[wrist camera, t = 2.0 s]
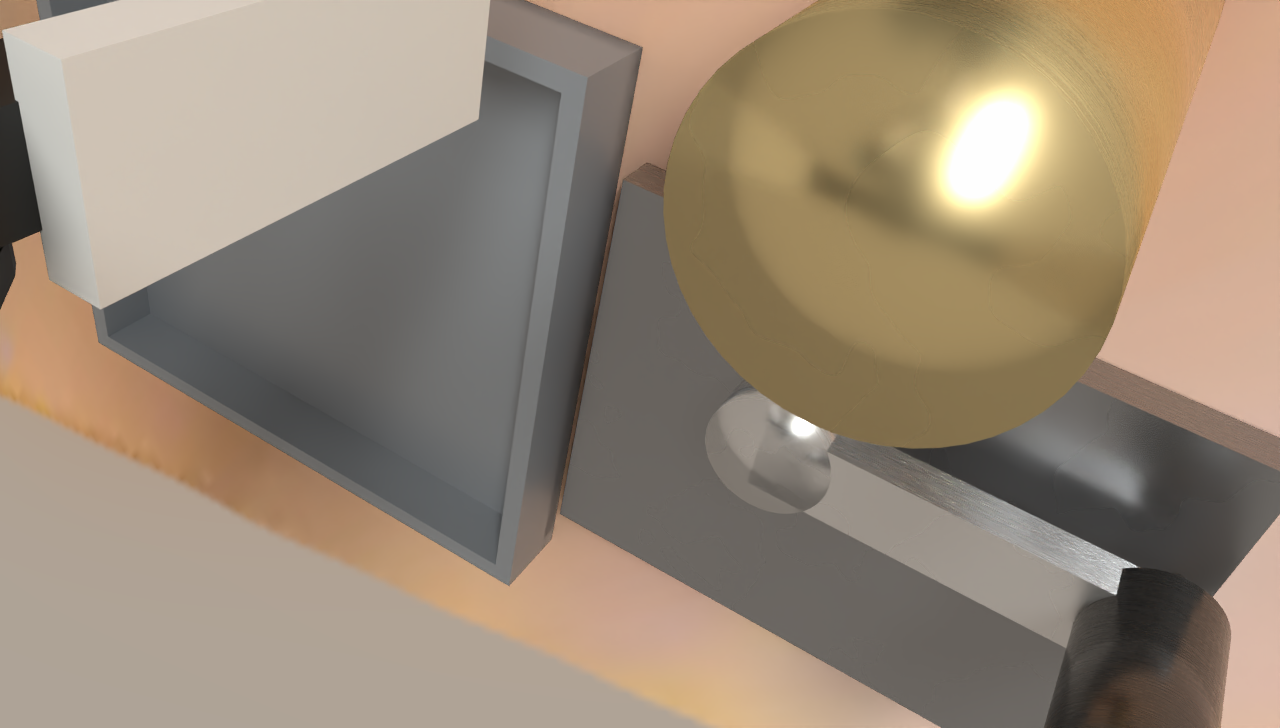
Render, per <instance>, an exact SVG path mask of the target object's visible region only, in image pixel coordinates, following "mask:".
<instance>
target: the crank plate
mask: <svg viewBox="0 0 1280 728" xmlns="http://www.w3.org/2000/svg"><path fill="white" fill-rule="evenodd" d="M665 177H666V171H665V170H662V169H660V168H658V167H655V166H653V165H651V164H649V163H646V164H645V165H643V166H642V167H640V168H639V169H638V170H636V171H635V172H633V173H632V174H631V175H629V176H628V177H626V178H625V179H624V180H623V184H622V189H621V194H620V200H619V205H618V210H617V215H616V221H615V226H614V231H613V237H612V242H611V247H610V252H609V258H608V263H607V268H606V274H605V279H604V284H603V289H602V295H601V300H600V305H599V311H598V316H597V321H596V326H595V332H594V337H593V342H592V348H591V353H590V358H589V363H588V369H587V374H586V379H585V384H584V390H583V395H582V400H581V406H580V411H579V416H578V421H577V427H576V432H575V437H574V443H573V448H572V453H571V458H570V464H569V469H568V474H567V480H566V485H565V490H564V495H563V501H562V506H561V511H560V514H561V515H563V516H565V517H567V518H568V519H570V520H572V521H574V522H575V523H577V524H579V525H581V526H583V527H584V528H586V529H588V530H590V531H592V532H593V533H595V534H597V535H599V536H600V537H602V538H604V539H606V540H608V541H609V542H611V543H613V544H615V545H617V546H618V547H620V548H622V549H624V550H625V551H627V552H629V553H631V554H633V555H634V556H636V557H638V558H640V559H642V560H643V561H645V562H647V563H649V564H650V565H652V566H654V567H656V568H658V569H659V570H661V571H663V572H665V573H666V574H668V575H670V576H672V577H674V578H675V579H677V580H679V581H681V582H683V583H684V584H686V585H688V586H690V587H691V588H693V589H695V590H697V591H699V592H700V593H702V594H704V595H706V596H708V597H709V598H711V599H713V600H715V601H716V602H718V603H720V604H722V605H724V606H725V607H727V608H729V609H731V610H733V611H734V612H736V613H738V614H740V615H741V616H743V617H745V618H747V619H749V620H750V621H752V622H754V623H756V624H757V625H759V626H761V627H763V628H765V629H766V630H768V631H770V632H772V633H774V634H775V635H777V636H779V637H781V638H782V639H784V640H786V641H788V642H790V643H791V644H793V645H795V646H797V647H799V648H800V649H802V650H804V651H806V652H807V653H809V654H811V655H813V656H815V657H816V658H818V659H820V660H822V661H824V662H825V663H827V664H829V665H831V666H832V667H834V668H836V669H838V670H840V671H841V672H843V673H845V674H847V675H848V676H850V677H852V678H854V679H856V680H857V681H859V682H861V683H863V684H865V685H866V686H868V687H870V688H872V689H873V690H875V691H877V692H879V693H881V694H882V695H884V696H886V697H888V698H890V699H891V700H893V701H895V702H897V703H898V704H900V705H902V706H904V707H906V708H907V709H909V710H911V711H913V712H915V713H916V714H918V715H920V716H922V717H923V718H925V719H927V720H929V721H931V722H932V723H934V724H936V725H938V726H939V727H941V728H1044V725H1045V722H1046V718H1047V714H1048V711H1049V707H1050V704H1051V700H1052V697H1053V693H1054V690H1055V686H1056V683H1057V679H1058V675H1059V672H1060V668H1061V665H1062V661H1063V658H1064V654H1065V651H1066V648H1065V647H1063V646H1061V645H1059V644H1057V643H1055V642H1053V641H1051V640H1049V639H1047V638H1045V637H1044V636H1042V635H1040V634H1038V633H1036V632H1034V631H1032V630H1030V629H1028V628H1026V627H1024V626H1022V625H1020V624H1018V623H1017V622H1015V621H1013V620H1011V619H1009V618H1007V617H1005V616H1003V615H1001V614H999V613H997V612H995V611H993V610H992V609H990V608H988V607H986V606H984V605H982V604H980V603H978V602H976V601H974V600H972V599H970V598H968V597H966V596H965V595H963V594H961V593H959V592H957V591H955V590H953V589H951V588H949V587H947V586H945V585H943V584H941V583H939V582H938V581H936V580H934V579H932V578H930V577H928V576H926V575H924V574H922V573H920V572H918V571H916V570H914V569H913V568H911V567H909V566H907V565H905V564H903V563H901V562H899V561H897V560H895V559H893V558H891V557H889V556H887V555H886V554H884V553H882V552H880V551H878V550H876V549H874V548H872V547H870V546H868V545H866V544H864V543H862V542H861V541H859V540H857V539H855V538H853V537H851V536H849V535H847V534H845V533H843V532H841V531H839V530H837V529H835V528H834V527H832V526H830V525H828V524H826V523H824V522H822V521H820V520H818V519H816V518H814V517H812V516H810V515H808V514H807V513H805V512H803V511H802V512H799V513H792V514H781V513H773V512H769V511H765V510H762V509H760V508H757V507H755V506H753V505H751V504H749V503H747V502H745V501H744V500H742V499H741V498H739V497H738V496H737V495H735V494H734V493H733V492H732V491H731V490H729V489H728V488H727V486H726V485H725V484H724V483H723V482H722V481H721V480H720V478H719V477H718V476H717V474H716V473H715V471H714V469H713V467H712V465H711V463H710V461H709V458H708V455H707V451H706V445H705V434H706V429H707V426H708V423H709V421H710V419H711V418H712V416H713V415H714V414H715V412H716V411H717V410H718V409H719V408H720V406H721V405H722V404H723V403H724V402H725V400H726V399H727V398H728V397H729V396H730V394H731V393H732V392H733V391H734V390H735V389H736V387H737V386H738V385H739V384H740V383H741V381H742V380H743V379H744V378H742V377H741V376H740V375H739V374H738V373H737V372H736V371H735V370H734V369H733V368H732V366H731V365H730V364H729V363H728V362H727V361H726V360H725V359H724V358H723V357H722V356H721V355H720V353H719V352H718V351H717V349H716V348H715V347H714V346H713V344H712V343H711V342H710V340H709V339H708V338H707V337H706V335H705V334H704V332H703V330H702V329H701V327H700V326H699V324H698V322H697V321H696V319H695V318H694V316H693V314H692V313H691V310H690V308H689V306H688V304H687V302H686V300H685V298H684V296H683V294H682V292H681V290H680V287H679V284H678V281H677V278H676V276H675V273H674V270H673V267H672V264H671V259H670V255H669V251H668V246H667V242H666V235H665V225H664V216H663V205H664V184H665ZM894 448H896V449H898V450H900V451H902V452H904V453H906V454H908V455H910V456H912V457H914V458H916V459H918V460H920V461H922V462H925V463H927V464H929V465H931V466H933V467H935V468H937V469H939V470H941V471H943V472H945V473H947V474H949V475H951V476H953V477H955V478H957V479H959V480H961V481H964V482H966V483H968V484H970V485H972V486H974V487H976V488H978V489H980V490H982V491H984V492H986V493H988V494H990V495H992V496H994V497H996V498H998V499H1001V500H1003V501H1005V502H1007V503H1009V504H1011V505H1013V506H1015V507H1017V508H1019V509H1021V510H1023V511H1025V512H1027V513H1029V514H1031V515H1033V516H1035V517H1037V518H1040V519H1042V520H1044V521H1046V522H1048V523H1050V524H1052V525H1054V526H1056V527H1058V528H1060V529H1062V530H1064V531H1066V532H1068V533H1070V534H1072V535H1074V536H1077V537H1079V538H1081V539H1083V540H1085V541H1087V542H1089V543H1091V544H1093V545H1095V546H1097V547H1099V548H1101V549H1103V550H1105V551H1107V552H1109V553H1111V554H1114V555H1116V556H1118V557H1120V558H1122V559H1124V560H1126V561H1128V562H1130V563H1132V564H1134V565H1136V566H1138V567H1140V568H1151V569H1158V570H1162V571H1167V572H1170V573H1173V574H1176V575H1178V576H1181V577H1183V578H1185V579H1187V580H1189V581H1191V582H1193V583H1195V584H1196V585H1198V586H1199V587H1201V588H1202V589H1204V590H1205V591H1206V592H1207V593H1209V594H1210V595H1211V596H1212V597H1213V596H1214V594H1215V593H1216V592H1217V591H1218V589H1219V588H1220V587H1221V586H1222V585H1223V583H1224V582H1225V581H1226V580H1227V578H1228V577H1229V576H1230V575H1231V573H1232V572H1233V571H1234V570H1235V569H1236V567H1237V566H1238V565H1239V564H1240V562H1241V561H1242V560H1243V559H1244V557H1245V556H1246V555H1247V554H1248V552H1249V551H1250V550H1251V549H1252V548H1253V546H1254V545H1255V544H1256V543H1257V541H1258V540H1259V539H1260V538H1261V536H1262V535H1263V534H1264V533H1265V532H1266V530H1267V529H1268V528H1269V527H1270V525H1271V524H1272V523H1273V522H1274V520H1275V519H1276V518H1277V517H1278V516H1279V514H1280V438H1278V437H1276V436H1273V435H1271V434H1269V433H1267V432H1264V431H1262V430H1260V429H1257V428H1255V427H1253V426H1251V425H1248V424H1246V423H1244V422H1241V421H1239V420H1237V419H1234V418H1232V417H1230V416H1228V415H1225V414H1223V413H1221V412H1218V411H1216V410H1214V409H1211V408H1209V407H1207V406H1205V405H1202V404H1200V403H1198V402H1195V401H1193V400H1191V399H1188V398H1186V397H1184V396H1182V395H1179V394H1177V393H1175V392H1172V391H1170V390H1168V389H1166V388H1163V387H1161V386H1159V385H1156V384H1154V383H1152V382H1149V381H1147V380H1145V379H1143V378H1140V377H1138V376H1136V375H1133V374H1131V373H1129V372H1126V371H1124V370H1122V369H1120V368H1117V367H1115V366H1113V365H1110V364H1108V363H1106V362H1103V361H1101V360H1099V359H1097V358H1095V359H1094V360H1093V362H1092V363H1091V365H1090V366H1089V368H1088V369H1087V371H1086V372H1085V374H1084V375H1083V376H1082V377H1081V378H1080V379H1079V380H1078V381H1077V382H1076V383H1075V384H1074V385H1073V387H1072V388H1071V389H1070V390H1069V391H1068V392H1067V393H1066V394H1065V395H1064V396H1063V397H1061V398H1060V399H1059V400H1058V401H1056V402H1055V403H1054V404H1053V405H1051V406H1050V407H1049V408H1047V409H1046V410H1045V411H1044V412H1042V413H1041V414H1039V415H1037V416H1035V417H1034V418H1032V419H1030V420H1029V421H1027V422H1025V423H1023V424H1022V425H1020V426H1018V427H1016V428H1013V429H1011V430H1009V431H1006V432H1004V433H1001V434H999V435H996V436H994V437H991V438H987V439H983V440H980V441H976V442H972V443H969V444H963V445H956V446H949V447H942V448H914V449H911V448H900V447H894Z"/></svg>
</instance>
